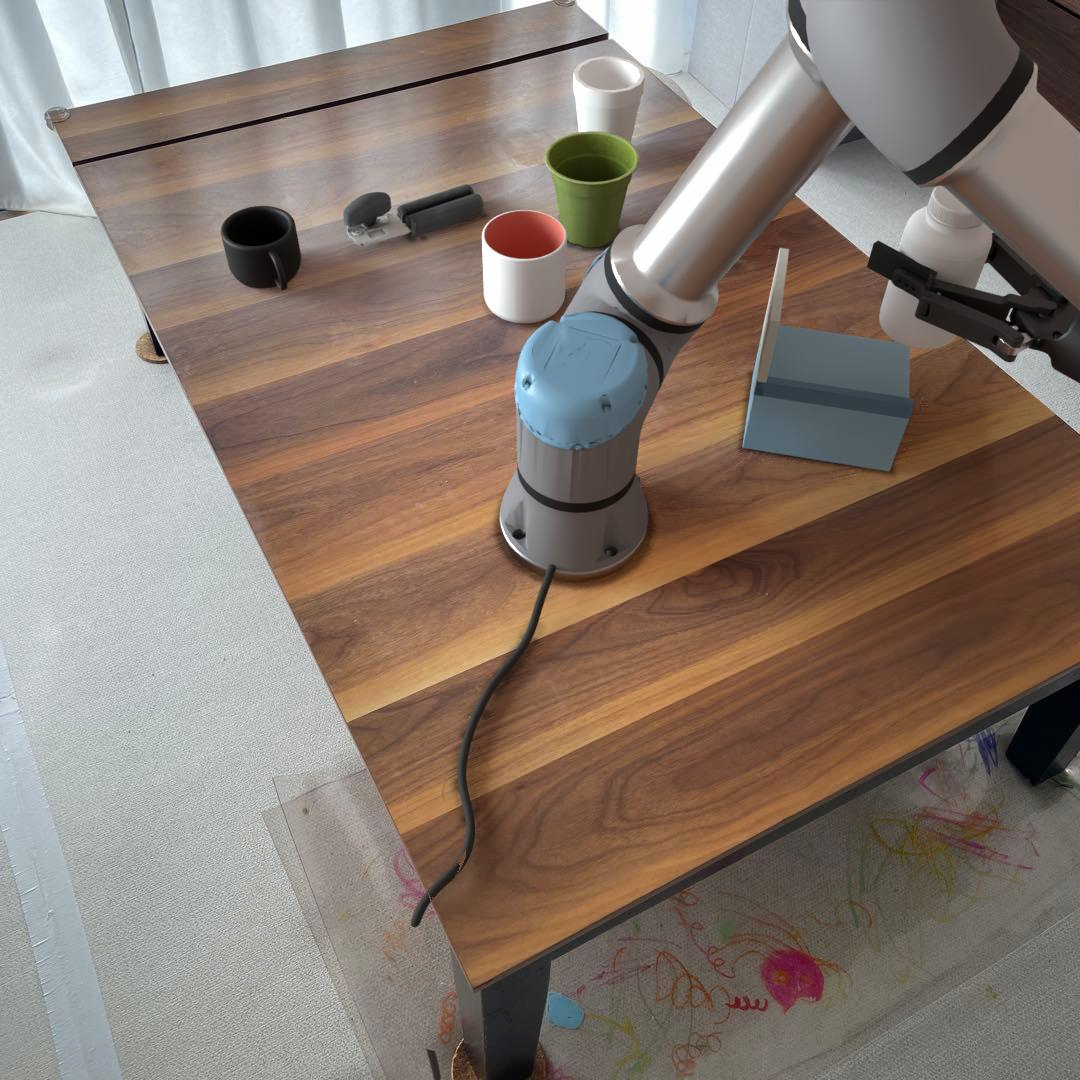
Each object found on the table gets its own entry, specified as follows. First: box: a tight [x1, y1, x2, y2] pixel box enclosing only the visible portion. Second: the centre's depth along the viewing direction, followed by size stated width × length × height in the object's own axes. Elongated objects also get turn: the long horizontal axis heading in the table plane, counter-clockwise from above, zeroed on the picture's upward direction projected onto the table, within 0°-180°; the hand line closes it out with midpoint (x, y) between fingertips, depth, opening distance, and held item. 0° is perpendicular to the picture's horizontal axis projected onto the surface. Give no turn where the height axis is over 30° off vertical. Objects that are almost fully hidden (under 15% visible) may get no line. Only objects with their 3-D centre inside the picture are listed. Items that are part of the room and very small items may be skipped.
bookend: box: [741, 247, 915, 472], centre depth 119 cm, size 12×16×18 cm
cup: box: [481, 209, 568, 324], centre depth 135 cm, size 10×10×10 cm
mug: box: [220, 205, 302, 291], centre depth 138 cm, size 12×9×7 cm
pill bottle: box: [878, 186, 993, 351], centre depth 106 cm, size 8×8×15 cm
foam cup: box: [572, 55, 646, 144], centre depth 153 cm, size 10×9×13 cm
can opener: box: [342, 183, 484, 248], centre depth 145 cm, size 19×5×6 cm, turn 121°
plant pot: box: [544, 131, 640, 248], centre depth 143 cm, size 12×12×11 cm
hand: (899, 235), depth 108 cm, fingers closed on pill bottle, 8 cm apart
